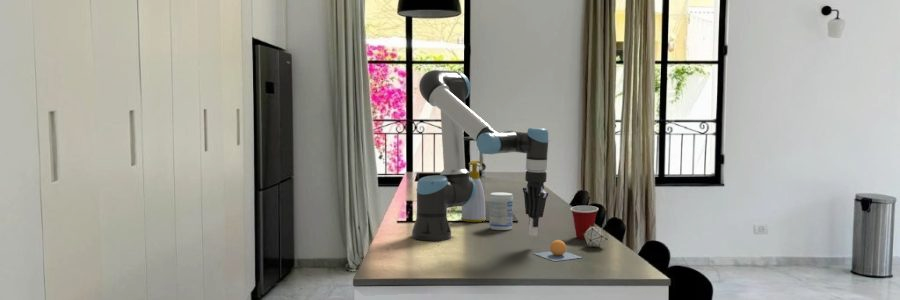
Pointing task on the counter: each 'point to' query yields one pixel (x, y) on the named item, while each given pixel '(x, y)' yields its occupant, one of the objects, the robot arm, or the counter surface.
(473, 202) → the soap bottle
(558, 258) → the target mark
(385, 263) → the counter surface
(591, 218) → the plastic cup
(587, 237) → the game die
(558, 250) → the ball
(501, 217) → the supplement tub
